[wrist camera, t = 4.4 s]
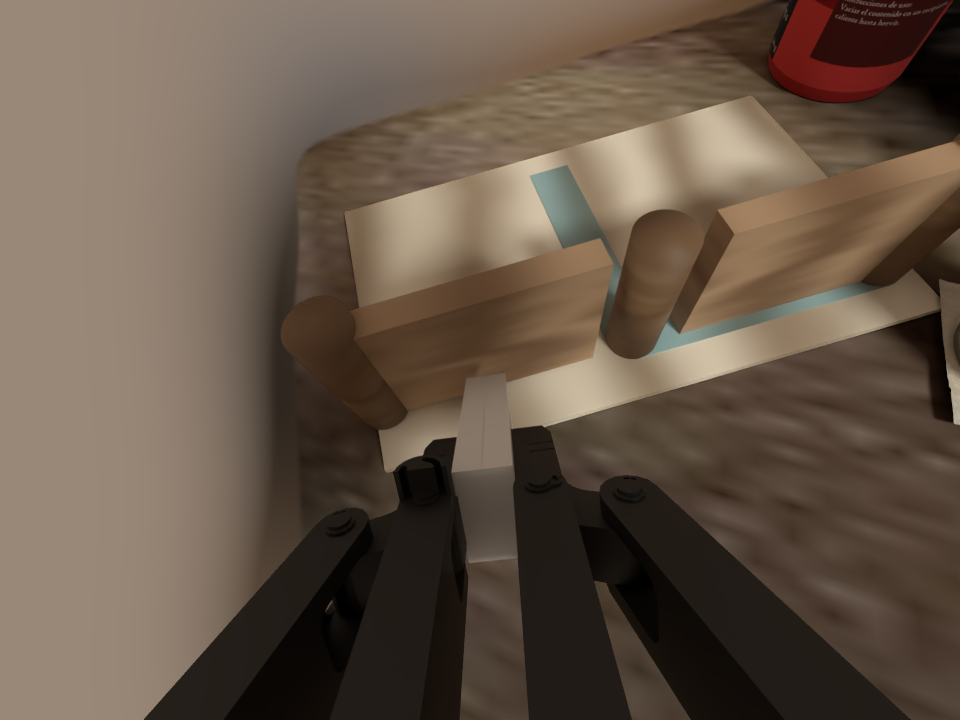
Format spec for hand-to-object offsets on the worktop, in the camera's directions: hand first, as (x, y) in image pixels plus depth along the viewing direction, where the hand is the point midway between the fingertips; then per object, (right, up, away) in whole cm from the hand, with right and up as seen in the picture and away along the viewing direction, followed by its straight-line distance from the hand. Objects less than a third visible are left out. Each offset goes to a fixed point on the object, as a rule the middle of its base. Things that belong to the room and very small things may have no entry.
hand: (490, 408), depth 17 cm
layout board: (+6, +8, +8) cm, 12 cm away
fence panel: (-1, +1, +4) cm, 4 cm away
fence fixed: (+13, +5, +5) cm, 15 cm away
